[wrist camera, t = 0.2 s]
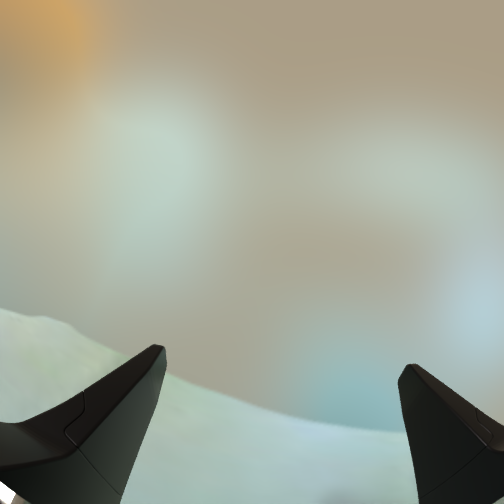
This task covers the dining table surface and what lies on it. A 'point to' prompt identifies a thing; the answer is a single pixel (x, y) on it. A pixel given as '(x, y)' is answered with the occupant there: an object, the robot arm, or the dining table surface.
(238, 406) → the dining table surface
